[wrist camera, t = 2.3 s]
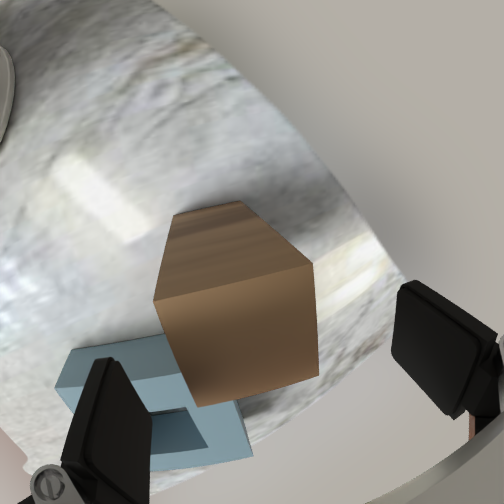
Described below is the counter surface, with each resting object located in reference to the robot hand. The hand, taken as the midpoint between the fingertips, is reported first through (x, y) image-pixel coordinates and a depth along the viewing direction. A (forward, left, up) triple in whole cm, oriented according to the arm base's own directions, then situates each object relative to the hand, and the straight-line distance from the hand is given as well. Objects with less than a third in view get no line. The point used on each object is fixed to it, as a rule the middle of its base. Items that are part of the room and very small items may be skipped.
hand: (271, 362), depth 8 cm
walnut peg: (0, -1, -13) cm, 12 cm away
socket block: (+13, -9, -12) cm, 20 cm away
